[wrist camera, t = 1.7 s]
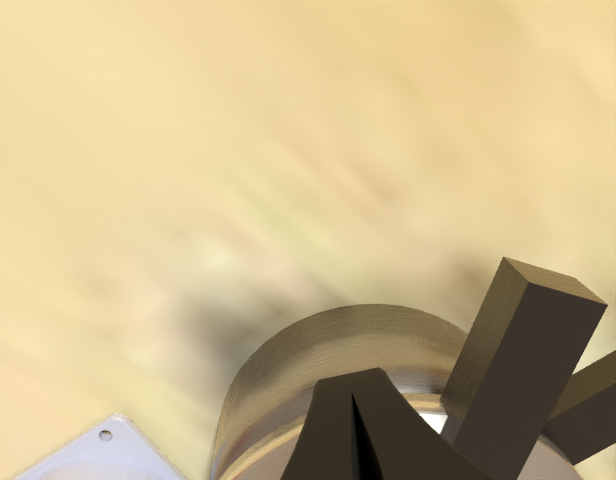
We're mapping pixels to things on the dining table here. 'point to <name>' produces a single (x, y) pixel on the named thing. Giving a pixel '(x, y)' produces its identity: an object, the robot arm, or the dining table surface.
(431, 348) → the cooker pot
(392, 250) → the dining table surface
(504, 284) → the cooker lid
